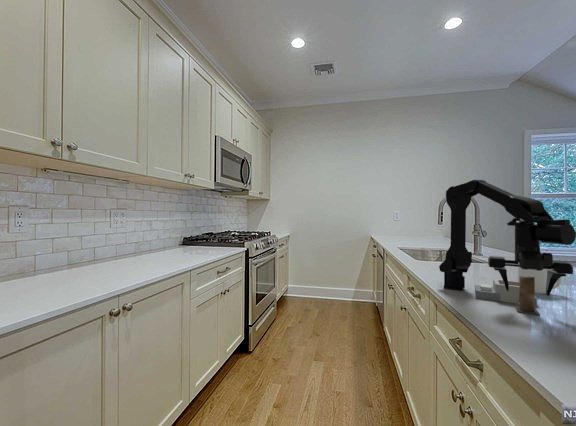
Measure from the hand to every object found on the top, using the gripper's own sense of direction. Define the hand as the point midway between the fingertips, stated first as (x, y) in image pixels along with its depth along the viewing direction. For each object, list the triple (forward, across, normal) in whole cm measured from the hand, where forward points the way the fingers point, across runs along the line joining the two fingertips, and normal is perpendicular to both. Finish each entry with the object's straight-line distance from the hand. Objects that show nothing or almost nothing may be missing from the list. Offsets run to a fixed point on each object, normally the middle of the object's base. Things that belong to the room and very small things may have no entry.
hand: (526, 293), depth 83 cm
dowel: (+5, 0, 0) cm, 5 cm away
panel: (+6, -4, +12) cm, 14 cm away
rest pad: (+6, 0, 0) cm, 6 cm away
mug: (+6, +8, +28) cm, 30 cm away
